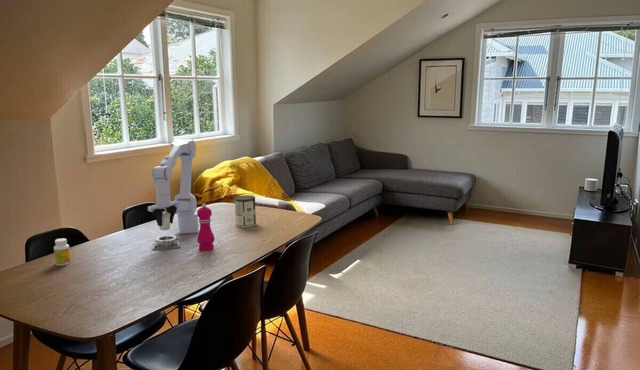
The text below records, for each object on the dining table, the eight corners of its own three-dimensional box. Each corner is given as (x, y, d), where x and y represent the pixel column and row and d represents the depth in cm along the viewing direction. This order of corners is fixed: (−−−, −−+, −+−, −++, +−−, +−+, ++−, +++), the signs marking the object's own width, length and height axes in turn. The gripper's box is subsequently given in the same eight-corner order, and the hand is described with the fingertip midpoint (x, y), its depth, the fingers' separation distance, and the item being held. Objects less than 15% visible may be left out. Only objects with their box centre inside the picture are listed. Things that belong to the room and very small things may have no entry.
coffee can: (244, 220, 251) (243, 194, 248) (260, 223, 246) (259, 196, 243) (231, 225, 243) (230, 198, 240) (246, 228, 237) (245, 200, 235)
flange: (179, 240, 219) (179, 233, 218) (179, 247, 208) (179, 240, 208) (154, 242, 216) (153, 235, 215) (152, 250, 206) (152, 243, 205)
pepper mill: (218, 247, 208) (216, 202, 204) (207, 252, 202) (205, 206, 198) (204, 245, 211) (202, 201, 207) (194, 250, 205) (191, 204, 201)
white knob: (167, 226, 214) (167, 211, 213) (172, 229, 211) (172, 213, 209) (156, 228, 211) (156, 212, 210) (161, 231, 207) (161, 215, 206)
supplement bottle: (55, 266, 187) (52, 242, 185) (55, 262, 191) (52, 238, 190) (71, 264, 189) (68, 240, 187) (70, 260, 194) (68, 237, 192)
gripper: (171, 189, 216) (173, 219, 218) (142, 195, 205) (145, 226, 207) (181, 191, 211) (183, 221, 214) (152, 197, 200) (154, 229, 203)
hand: (165, 224), depth 210 cm, fingers closed on white knob, 5 cm apart
